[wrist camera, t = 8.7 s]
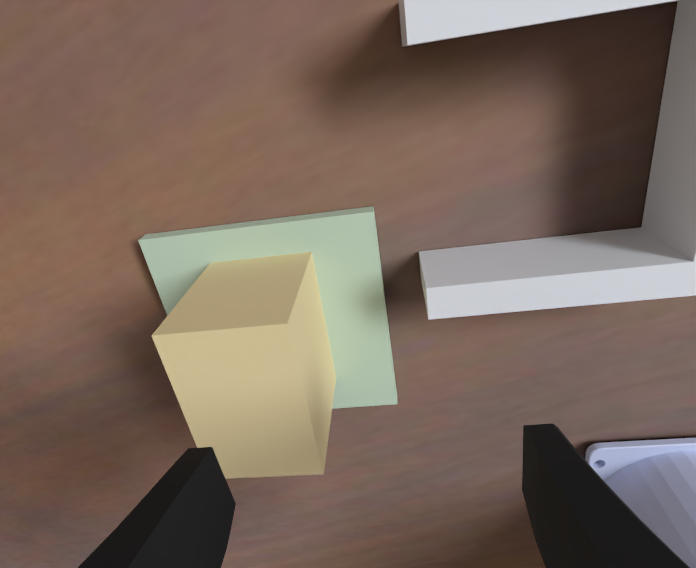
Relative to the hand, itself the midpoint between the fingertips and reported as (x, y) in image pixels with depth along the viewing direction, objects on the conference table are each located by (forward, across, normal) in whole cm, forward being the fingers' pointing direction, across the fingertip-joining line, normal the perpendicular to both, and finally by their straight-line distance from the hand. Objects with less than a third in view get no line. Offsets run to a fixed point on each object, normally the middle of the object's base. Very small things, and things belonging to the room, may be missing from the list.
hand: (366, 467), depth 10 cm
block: (+8, +4, +1) cm, 9 cm away
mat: (+9, +4, +1) cm, 10 cm away
